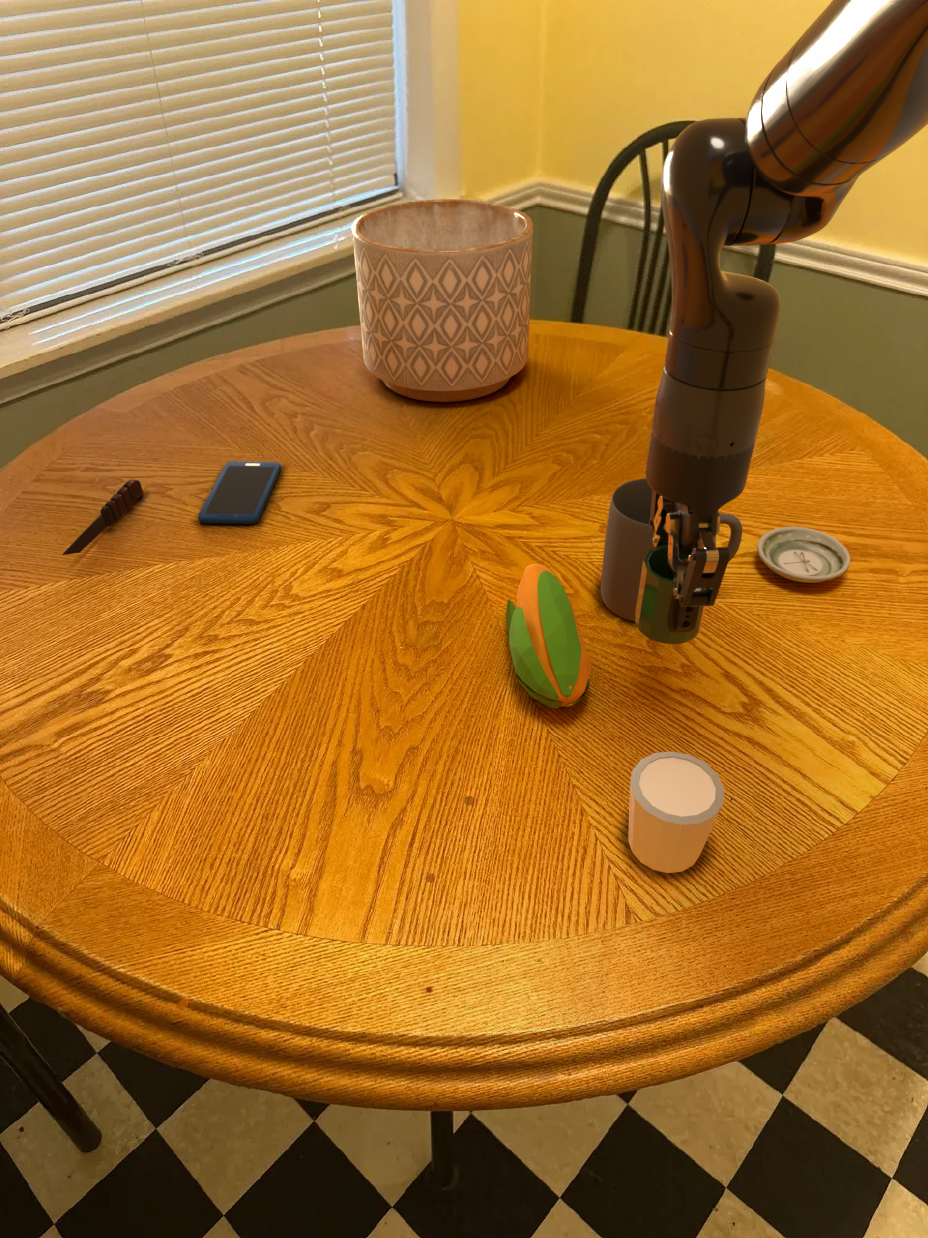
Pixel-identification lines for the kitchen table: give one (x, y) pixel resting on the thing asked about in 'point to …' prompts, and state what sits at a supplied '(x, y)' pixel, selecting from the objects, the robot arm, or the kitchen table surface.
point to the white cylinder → (672, 810)
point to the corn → (547, 640)
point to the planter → (444, 296)
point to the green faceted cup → (660, 599)
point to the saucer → (803, 554)
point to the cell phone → (240, 493)
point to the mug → (636, 545)
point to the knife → (108, 514)
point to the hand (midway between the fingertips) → (671, 605)
